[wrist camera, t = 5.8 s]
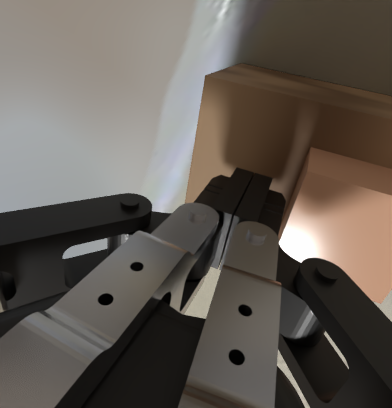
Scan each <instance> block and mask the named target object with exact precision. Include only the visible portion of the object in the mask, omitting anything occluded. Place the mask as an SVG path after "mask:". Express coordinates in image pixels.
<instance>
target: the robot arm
mask: <svg viewBox="0 0 392 408" xmlns="http://www.w3.org/2000/svg"><path fill="white" fill-rule="evenodd" d="M272 179H273V178H271V177H268V176H265V175H261V174H258V173H255V174H254V172H251V171H248V170H245V169H241V168H238V167H237V168H236V169H235V171H234V172H233V174H232V175H231V177H227V176H224V175H219V176H216V177H214V178H212V179H211V180H210V182H209V183H208V185H207V186H206V187H205V188H204V190H203V191H202V192H201V193H200V195H199V196H198V197H197V199H196V200H195V201H194V202H193V203H185V204H183V205H181V206H179V207H178V208H177V209H176V210H175V211H174V212H173V213H161V212H153V211H152V204H151V202H150V201H149V200H148V199H147V198H145V197H144V196H141V195H138V194H131V193H126V194H118V195H111V196H105V197H99V198H93V199H86V200H81V201H74V202H67V203H61V204H55V205H48V206H42V207H36V208H29V209H23V210H17V211H10V212H5V213H0V408H305V407H304V405H303V403H302V401H301V399H300V397H299V395H298V393H297V391H296V390H295V388H294V387H293V385H292V384H291V382H290V381H289V379H288V378H287V377H286V376H285V374H284V373H283V372H282V371H281V370H280V369H279V367H278V366H277V355H278V349H279V351H280V353H281V355H282V357H283V359H284V360H285V362H286V364H287V366H288V368H289V370H290V371H291V373H292V375H293V377H294V379H295V380H296V382H297V384H298V386H299V388H300V390H301V391H302V393H303V395H304V397H305V399H306V401H307V402H308V404H309V406H310V408H392V322H391V321H390V320H389V319H388V318H387V317H386V316H385V314H384V313H383V312H382V311H381V310H380V309H379V308H378V307H377V306H376V305H375V304H374V303H373V302H372V300H371V299H370V298H369V297H368V296H367V295H366V294H365V293H364V292H363V291H362V290H361V289H360V288H359V287H358V285H357V284H356V283H355V282H354V281H353V280H352V279H351V278H350V277H349V276H348V275H347V274H346V273H345V272H344V271H343V270H342V269H341V268H340V267H339V266H337V265H335V264H334V263H332V262H330V261H327V260H324V259H321V258H307V259H305V260H303V261H302V262H301V263H300V262H299V261H297V260H295V259H294V258H292V257H291V256H289V255H288V254H287V253H286V252H285V251H284V250H283V249H282V248H281V247H280V245H279V238H278V234H279V230H280V225H281V221H282V217H283V212H284V208H285V204H286V200H285V198H284V196H283V194H282V193H279V192H276V191H273V190H269V188H270V185H271V182H272ZM104 238H108V249H105V250H101V251H97V252H93V253H89V254H84V255H80V256H76V257H73V258H68V259H62V256H63V253H64V252H65V251H66V250H67V249H68V248H69V247H71V246H74V245H78V244H82V243H87V242H91V241H95V240H100V239H104ZM221 260H222V262H221ZM220 263H221V265H220ZM219 265H220V269H219V270H221V272H220V276H219V279H218V282H217V285H216V288H215V292H214V295H213V298H212V301H211V304H210V308H209V311H208V314H207V317H206V319H203V318H198V317H192V316H187V315H184V314H185V312H186V310H187V309H188V307H189V305H190V304H191V302H192V301H193V299H194V297H195V296H196V294H197V292H198V291H199V289H200V288H201V286H202V284H203V282H204V279H205V275H206V274H207V273H208V271H209V269H210V267H214V268H216V269H218V267H219ZM325 331H326V332H327V333H328V335H329V336H330V337H331V339H332V340H333V342H334V343H335V344H336V346H337V347H338V349H339V350H340V351H341V353H342V354H343V356H344V357H345V359H346V361H347V363H348V367H349V369H348V368H347V366H346V365H345V364H344V362H343V361H342V359H341V358H340V357H339V355H338V354H337V352H336V351H335V349H334V348H333V347H332V345H331V344H330V342H329V341H328V339H327V338H326V337H325V335H324V333H325Z"/></svg>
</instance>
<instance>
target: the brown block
mask: <svg viewBox="0 0 392 408" xmlns="http://www.w3.org/2000/svg"><path fill="white" fill-rule="evenodd" d="M311 147H313V148H316V149H320V150H324V151H327V152H331V153H335V154H338V155H342V156H346V157H349V158H353V159H357V160H361V161H364V162H368V163H372V164H375V165H379V166H383V167H386V168H390V169H392V96H389V95H384V94H379V93H375V92H370V91H366V90H361V89H357V88H352V87H348V86H343V85H338V84H334V83H329V82H325V81H320V80H316V79H311V78H307V77H302V76H297V75H293V74H288V73H284V72H279V71H275V70H270V69H265V68H261V67H256V66H252V65H247V64H243V63H240V64H237V65H234V66H231V67H228V68H226V69H223V70H220V71H217V72H214V73H211V74H208V75H205V81H204V87H203V93H202V99H201V106H200V112H199V118H198V124H197V131H196V137H195V143H194V149H193V155H192V162H191V168H190V174H189V180H188V187H187V193H186V199H185V203H193V202H194V201H195V200H196V199H197V197H198V196H199V195H200V193H201V192H202V191H203V190H204V188H205V187H206V186H207V185H208V183H209V182H210V180H211V179H212V178H214V177H216V176H219V175H224V176H227V177H231V175H232V174H233V172H234V171H235V169H236V168H237V167H238V168H241V169H245V170H248V171H251V172H254V174H255V173H258V174H261V175H265V176H268V177H271V178H273V179H272V182H271V185H270V188H269V190H273V191H276V192H279V193H282V194H283V196H284V198H285V200H286V204H285V208H284V212H283V217H282V221H283V218H284V216H285V213H286V210H287V208H288V205H289V203H290V200H291V197H292V195H293V192H294V190H295V187H296V184H297V182H298V179H299V176H300V174H301V171H302V169H303V166H304V163H305V161H306V158H307V156H308V153H309V150H310V148H311ZM282 221H281V223H282ZM280 226H281V225H280Z"/></svg>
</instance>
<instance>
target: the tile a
mask: <svg viewBox="0 0 392 408" xmlns="http://www.w3.org/2000/svg"><path fill="white" fill-rule="evenodd" d="M278 238H279V245H280V247H281V248H282V249H283V250H284V251H285V252H286V253H287V254H288V255H289V256H291V257H292V258H294V259H295V260H297V261H299V262H300V263H301V262H302V261H303V260H305V259H307V258H321V259H324V260H327V261H330V262H332V263H334V264H335V265H337V266H339V267H340V268H341V269H342V270H343V271H344V272H345V273H346V274H347V275H348V276H349V277H350V278H351V279H352V280H353V281H354V282H355V283H356V284H357V285H358V287H359V288H360V289H361V290H362V291H363V292H364V293H365V294H366V295H367V296H368V297H369V298H370V299H371V300H372V301H374V302H377V303H380V304H381V303H382V302H383V300H384V299H385V297H386V296H387V295H388V293H389V292H390V291H391V289H392V169H390V168H386V167H383V166H379V165H375V164H372V163H368V162H364V161H361V160H357V159H353V158H349V157H346V156H342V155H338V154H335V153H331V152H327V151H324V150H320V149H316V148H313V147H311V148H310V150H309V153H308V156H307V158H306V161H305V163H304V166H303V169H302V171H301V174H300V176H299V179H298V182H297V184H296V187H295V190H294V192H293V195H292V197H291V200H290V203H289V205H288V208H287V210H286V213H285V216H284V218H283V221H282V223H281V226H280V230H279V234H278Z"/></svg>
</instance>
